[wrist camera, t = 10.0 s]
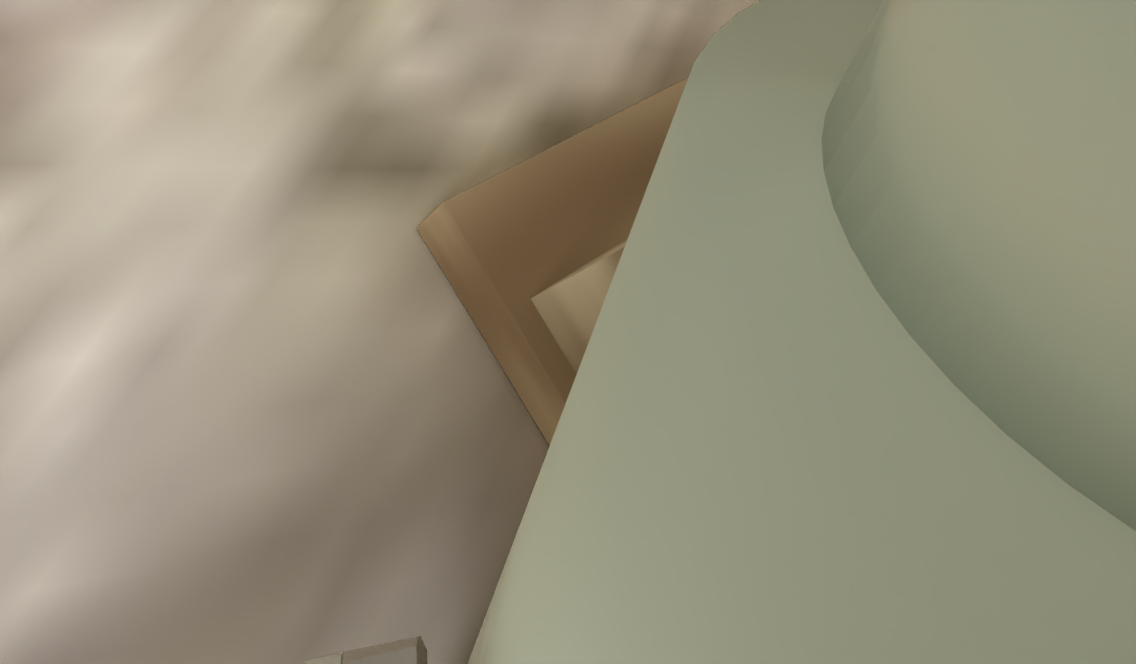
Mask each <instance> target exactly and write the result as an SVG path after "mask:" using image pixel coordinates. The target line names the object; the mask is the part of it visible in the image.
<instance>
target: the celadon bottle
mask: <svg viewBox="0 0 1136 664" xmlns="http://www.w3.org/2000/svg"><path fill="white" fill-rule="evenodd" d="M468 664H1136V0H761V1H759V2H757V3H755V4H754V5H752V6H750V7H748V8H746V9H744V10H743V11H741V12H739V13H738V14H737V15H735V16H734V17H733V18H732V19H731V20H730V21H728V22H727V23H726V24H725V25H724V26H723V27H722V28H720V29H719V30H718V31H717V32H716V33H715V34H714V35H713V36H712V37H711V39H710V40H709V42H708V43H707V45H706V46H705V47H704V49H703V50H702V52H701V53H700V54H699V56H698V57H697V59H696V60H695V62H694V64H693V67H692V70H691V72H690V75H689V78H688V80H687V83H686V85H685V88H684V91H683V93H682V96H681V99H680V101H679V104H678V107H677V109H676V112H675V115H674V117H673V120H672V123H671V125H670V128H669V130H668V133H667V136H666V138H665V141H664V144H663V146H662V149H661V152H660V154H659V157H658V160H657V162H656V165H655V168H654V170H653V173H652V176H651V178H650V181H649V184H648V186H647V189H646V192H645V194H644V197H643V199H642V202H641V205H640V207H639V210H638V213H637V215H636V218H635V221H634V223H633V226H632V229H631V231H630V234H629V237H628V239H627V242H626V245H625V247H624V250H623V253H622V255H621V258H620V261H619V263H618V266H617V268H616V271H615V274H614V276H613V279H612V282H611V284H610V287H609V290H608V292H607V295H606V298H605V300H604V303H603V306H602V308H601V311H600V314H599V316H598V319H597V322H596V324H595V327H594V330H593V332H592V335H591V338H590V340H589V343H588V345H587V348H586V351H585V353H584V356H583V359H582V361H581V364H580V367H579V369H578V372H577V375H576V377H575V380H574V383H573V385H572V388H571V391H570V393H569V396H568V399H567V401H566V404H565V407H564V409H563V412H562V414H561V417H560V420H559V422H558V425H557V428H556V430H555V433H554V436H553V438H552V441H551V444H550V446H549V449H548V452H547V454H546V457H545V460H544V462H543V465H542V468H541V470H540V473H539V476H538V478H537V481H536V483H535V486H534V489H533V491H532V494H531V497H530V499H529V502H528V505H527V507H526V510H525V513H524V515H523V518H522V521H521V523H520V526H519V529H518V531H517V534H516V537H515V539H514V542H513V545H512V547H511V550H510V553H509V555H508V558H507V560H506V563H505V566H504V568H503V571H502V574H501V576H500V579H499V582H498V584H497V587H496V590H495V592H494V595H493V598H492V600H491V603H490V606H489V608H488V611H487V614H486V616H485V619H484V622H483V624H482V627H481V629H480V632H479V635H478V637H477V640H476V643H475V645H474V648H473V651H472V653H471V656H470V659H469V661H468Z"/></svg>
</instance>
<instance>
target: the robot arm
mask: <svg viewBox="0 0 1136 664" xmlns="http://www.w3.org/2000/svg"><path fill="white" fill-rule="evenodd" d="M305 664H427V650H426V648H425V645H424V643H423V640H422V638H421V636H419V637H414V638H409V639H404V640H399V641H395V642H390V643H385V644H380V645H375V646H371V647H366V648H361V649H356V650H351V651H347V652H341V653H337V654H332V655H328V656H323V657H319V658H315V659H310V660H307V661H306V663H305Z"/></svg>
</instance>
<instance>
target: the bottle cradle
mask: <svg viewBox="0 0 1136 664" xmlns="http://www.w3.org/2000/svg"><path fill="white" fill-rule="evenodd" d="M688 78H689V77H688ZM688 78H686V79H684V80H682V81H680V82H678V83H676V84H674V85H672V86H670V87H668V88H666V89H664V90H662V91H660V92H659V93H657V94H655V95H653V96H651V97H649V98H647V99H645V100H643V101H641V102H639V103H637V104H635V105H633V106H631V107H629V108H627V109H625V110H623V111H621V112H619V113H617V114H615V115H613V116H611V117H609V118H607V119H605V120H603V121H601V122H599V123H598V124H596V125H594V126H592V127H590V128H588V129H586V130H584V131H582V132H580V133H578V134H576V135H574V136H572V137H570V138H568V139H566V140H564V141H562V142H560V143H558V144H556V145H554V146H552V147H550V148H548V149H546V150H544V151H542V152H540V153H538V154H536V155H535V156H533V157H531V158H529V159H527V160H525V161H523V162H521V163H519V164H517V165H515V166H513V167H511V168H509V169H507V170H505V171H503V172H501V173H499V174H497V175H495V176H493V177H491V178H489V179H487V180H485V181H483V182H481V183H479V184H477V185H475V186H473V187H472V188H470V189H468V190H466V191H464V192H462V193H460V194H458V195H456V196H454V197H452V198H450V199H448V200H446V201H444V202H443V203H442V204H441V205H439V206H438V207H437V208H436V209H435V210H434V211H433V212H432V213H431V214H430V215H429V216H428V217H427V218H426V219H425V220H424V221H423V222H422V223H421V224H420V225H419V226H418V227H417V230H418V231H419V233H420V235H421V236H422V238H423V240H424V241H425V243H426V244H427V246H428V248H429V249H430V251H431V253H432V254H433V256H434V258H435V259H436V261H437V262H438V264H439V266H440V267H441V269H442V271H443V272H444V274H445V276H446V277H447V279H448V280H449V282H450V284H451V285H452V287H453V289H454V290H455V292H456V294H457V295H458V297H459V298H460V300H461V302H462V303H463V305H464V307H465V308H466V310H467V311H468V313H469V315H470V316H471V318H472V320H473V321H474V323H475V325H476V326H477V328H478V329H479V331H480V333H481V334H482V336H483V338H484V339H485V341H486V343H487V344H488V346H489V347H490V349H491V351H492V352H493V354H494V356H495V357H496V359H497V361H498V362H499V364H500V365H501V367H502V369H503V370H504V372H505V374H506V375H507V377H508V379H509V380H510V382H511V383H512V385H513V387H514V388H515V390H516V392H517V393H518V395H519V397H520V398H521V400H522V401H523V403H524V405H525V406H526V408H527V410H528V411H529V413H530V415H531V416H532V418H533V419H534V421H535V423H536V424H537V426H538V428H539V429H540V431H541V432H542V434H543V436H544V437H545V439H546V441H547V442H548V444H549V446H550V444H551V441H552V438H553V436H554V433H555V430H556V428H557V425H558V422H559V420H560V417H561V414H562V412H563V409H564V407H565V404H566V401H567V399H568V396H569V393H570V391H571V388H572V385H573V383H574V380H575V377H576V375H577V372H578V369H579V367H580V364H581V361H582V359H583V356H584V353H585V351H586V348H587V345H588V343H589V340H590V338H591V335H592V332H593V330H594V327H595V324H596V322H597V319H598V316H599V314H600V311H601V308H602V306H603V303H604V300H605V298H606V295H607V292H608V290H609V287H610V284H611V282H612V279H613V276H614V274H615V271H616V268H617V266H618V263H619V261H620V258H621V255H622V253H623V250H624V247H625V245H626V242H627V239H628V237H629V234H630V231H631V229H632V226H633V223H634V221H635V218H636V215H637V213H638V210H639V207H640V205H641V202H642V199H643V197H644V194H645V192H646V189H647V186H648V184H649V181H650V178H651V176H652V173H653V170H654V168H655V165H656V162H657V160H658V157H659V154H660V152H661V149H662V146H663V144H664V141H665V138H666V136H667V133H668V130H669V128H670V125H671V123H672V120H673V117H674V115H675V112H676V109H677V107H678V104H679V101H680V99H681V96H682V93H683V91H684V88H685V85H686V83H687V80H688Z"/></svg>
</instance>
